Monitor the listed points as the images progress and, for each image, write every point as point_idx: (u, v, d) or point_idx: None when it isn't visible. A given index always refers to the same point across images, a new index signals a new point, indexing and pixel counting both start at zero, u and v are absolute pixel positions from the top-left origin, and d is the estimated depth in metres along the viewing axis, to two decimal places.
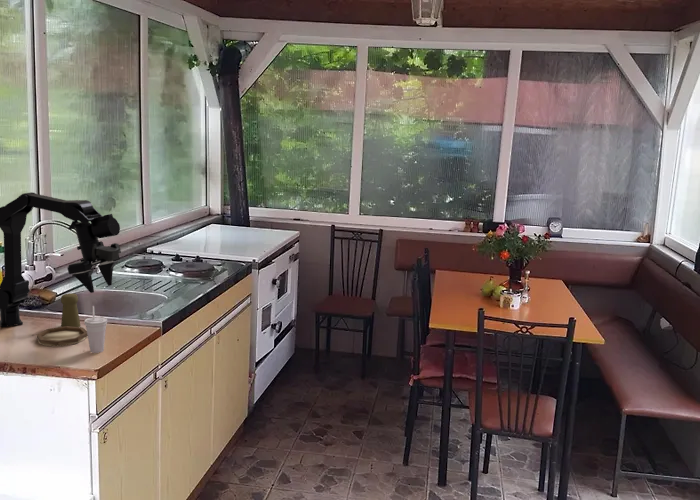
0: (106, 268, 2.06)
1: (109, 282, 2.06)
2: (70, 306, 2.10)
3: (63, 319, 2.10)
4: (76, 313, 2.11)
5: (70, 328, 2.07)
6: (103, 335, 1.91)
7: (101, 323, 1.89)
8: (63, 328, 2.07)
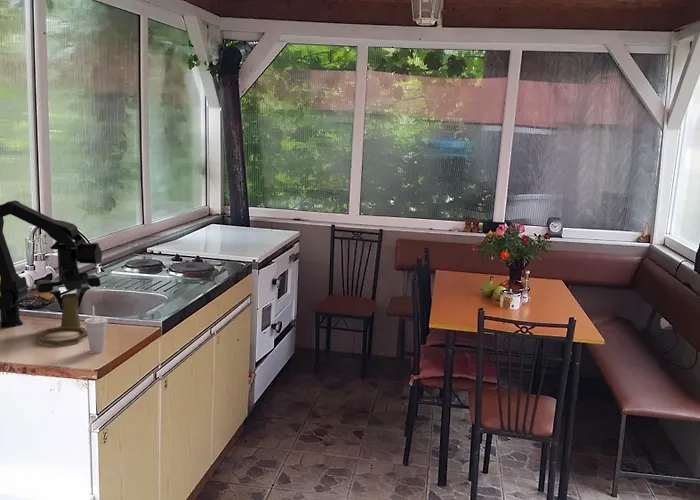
0: (78, 291, 2.12)
1: (77, 305, 2.13)
2: (70, 306, 2.10)
3: (63, 319, 2.10)
4: (76, 313, 2.11)
5: (70, 328, 2.07)
6: (103, 335, 1.91)
7: (101, 323, 1.89)
8: (63, 328, 2.07)
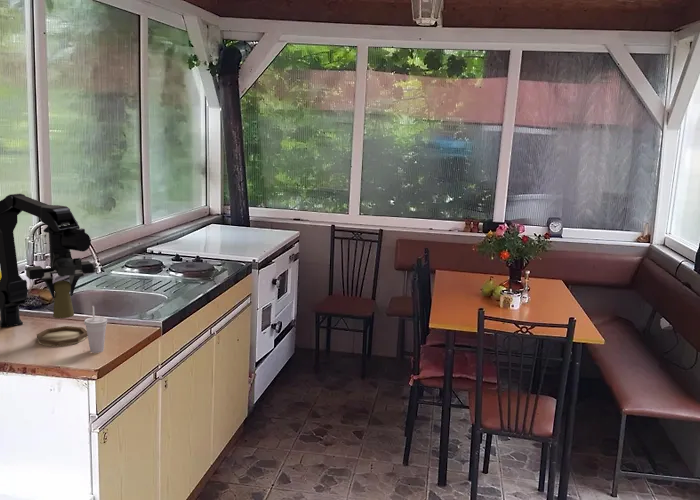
0: (71, 278, 2.00)
1: (70, 292, 2.01)
2: (63, 294, 1.98)
3: (55, 308, 1.98)
4: (69, 301, 2.00)
5: (70, 328, 2.07)
6: (103, 335, 1.91)
7: (101, 323, 1.89)
8: (63, 328, 2.07)
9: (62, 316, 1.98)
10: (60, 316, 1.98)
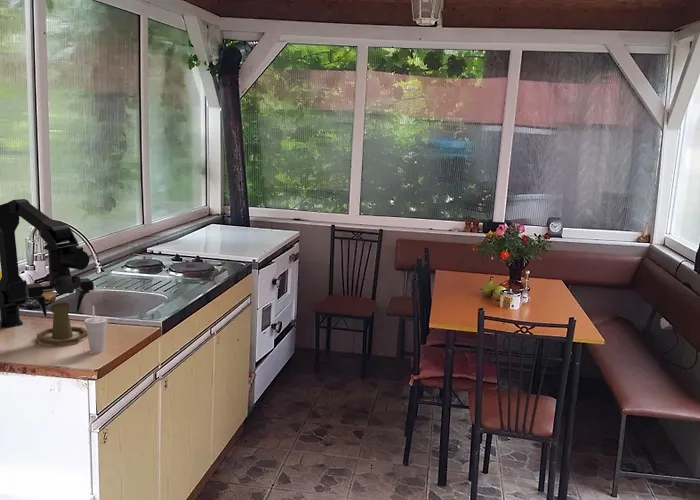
0: (77, 294, 2.01)
1: (76, 309, 2.02)
2: (61, 315, 1.98)
3: (54, 329, 1.98)
4: (68, 323, 2.00)
5: None
6: (103, 335, 1.91)
7: (101, 323, 1.89)
8: None
9: (60, 338, 1.98)
10: (58, 338, 1.98)
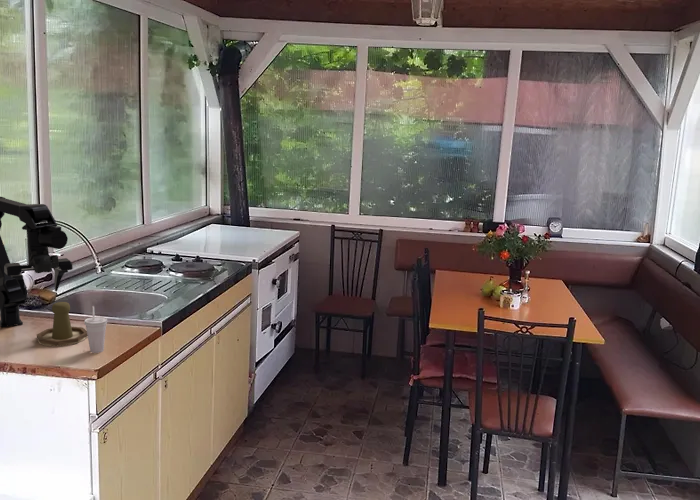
0: (56, 274, 2.05)
1: (55, 288, 2.05)
2: (61, 315, 1.98)
3: (54, 329, 1.98)
4: (68, 323, 2.00)
5: None
6: (103, 335, 1.91)
7: (101, 323, 1.89)
8: None
9: (60, 338, 1.98)
10: (58, 338, 1.98)
